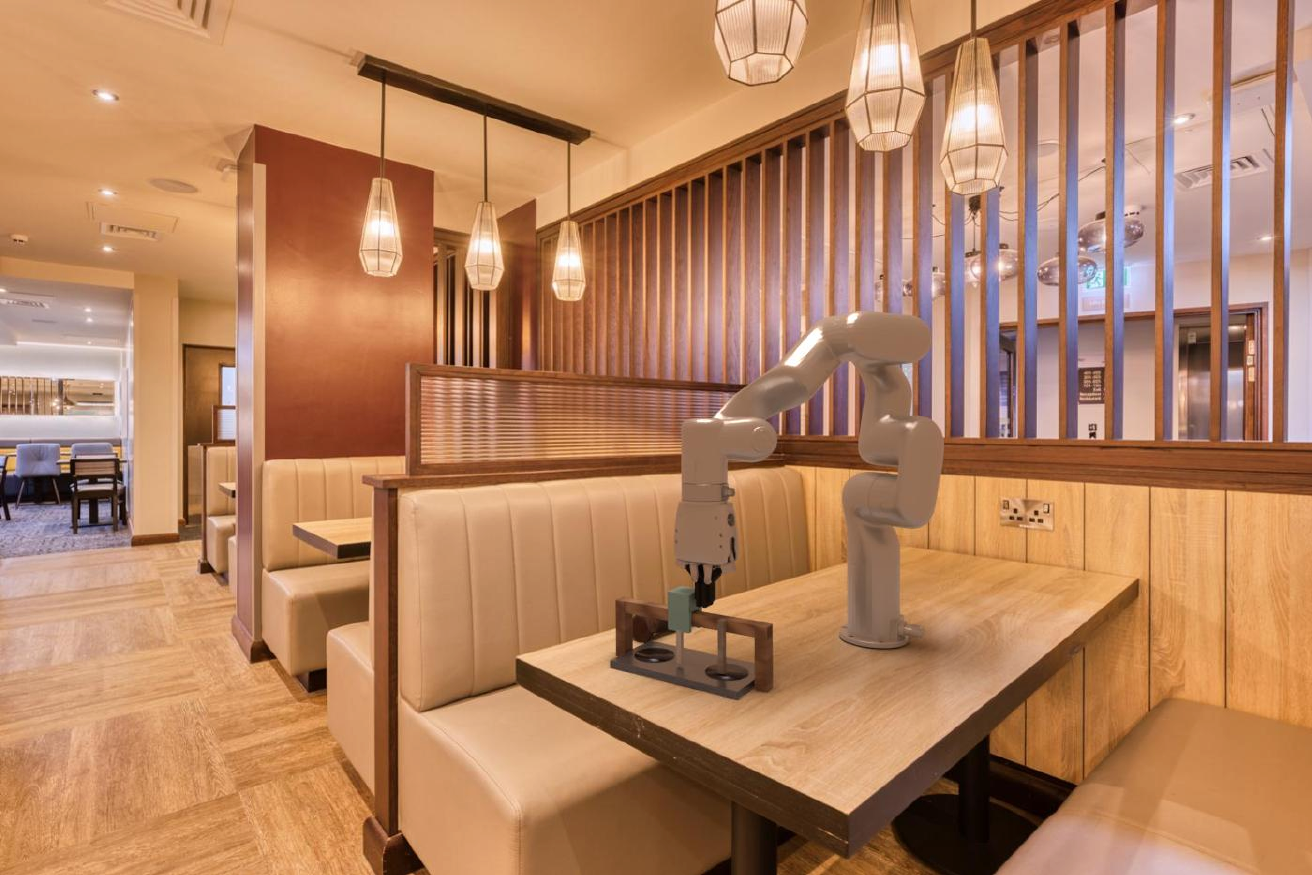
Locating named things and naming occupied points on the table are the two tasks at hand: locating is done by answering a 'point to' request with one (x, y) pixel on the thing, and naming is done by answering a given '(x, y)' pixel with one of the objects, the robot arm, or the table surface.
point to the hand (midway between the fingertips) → (705, 605)
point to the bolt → (647, 628)
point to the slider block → (681, 616)
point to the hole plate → (688, 669)
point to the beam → (705, 620)
